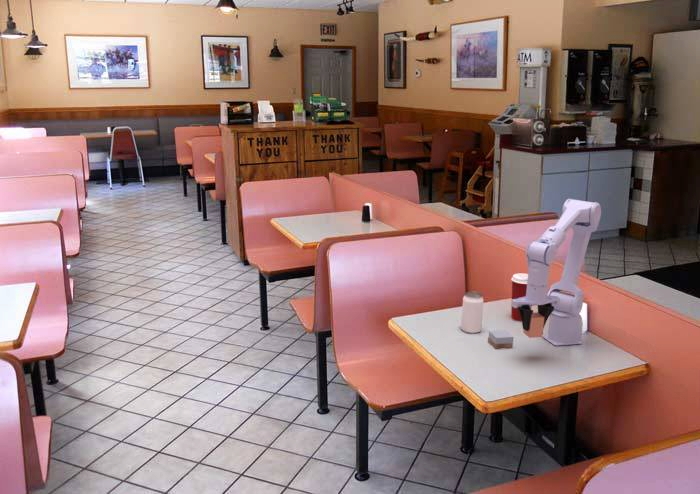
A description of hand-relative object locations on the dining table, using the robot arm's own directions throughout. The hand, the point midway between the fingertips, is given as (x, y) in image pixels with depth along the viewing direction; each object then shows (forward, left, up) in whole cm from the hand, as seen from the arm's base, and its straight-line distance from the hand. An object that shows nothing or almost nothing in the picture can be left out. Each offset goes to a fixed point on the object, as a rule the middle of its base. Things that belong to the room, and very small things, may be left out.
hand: (533, 328), depth 183 cm
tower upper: (+5, -10, -7) cm, 13 cm away
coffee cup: (-12, -30, -9) cm, 34 cm away
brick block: (0, 0, -2) cm, 2 cm away
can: (+9, -23, -9) cm, 26 cm away
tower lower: (+5, -10, -9) cm, 15 cm away
